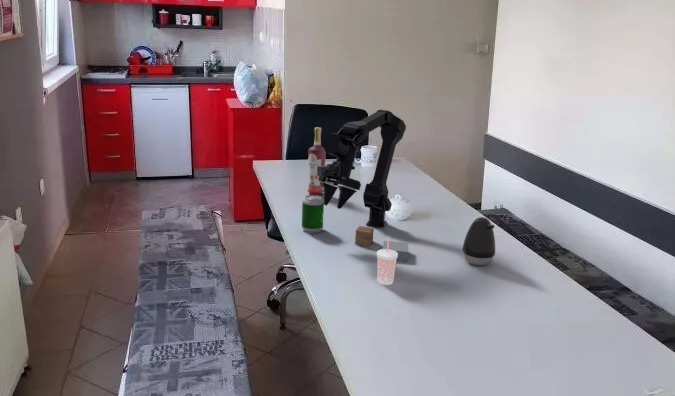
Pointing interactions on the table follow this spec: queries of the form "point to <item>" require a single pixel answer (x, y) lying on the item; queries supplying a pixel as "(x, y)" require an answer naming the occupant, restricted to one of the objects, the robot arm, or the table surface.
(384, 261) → the beverage cup
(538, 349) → the table surface
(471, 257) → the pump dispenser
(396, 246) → the slate block
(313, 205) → the soda can
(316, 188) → the liquor
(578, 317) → the table surface
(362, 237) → the walnut cube
